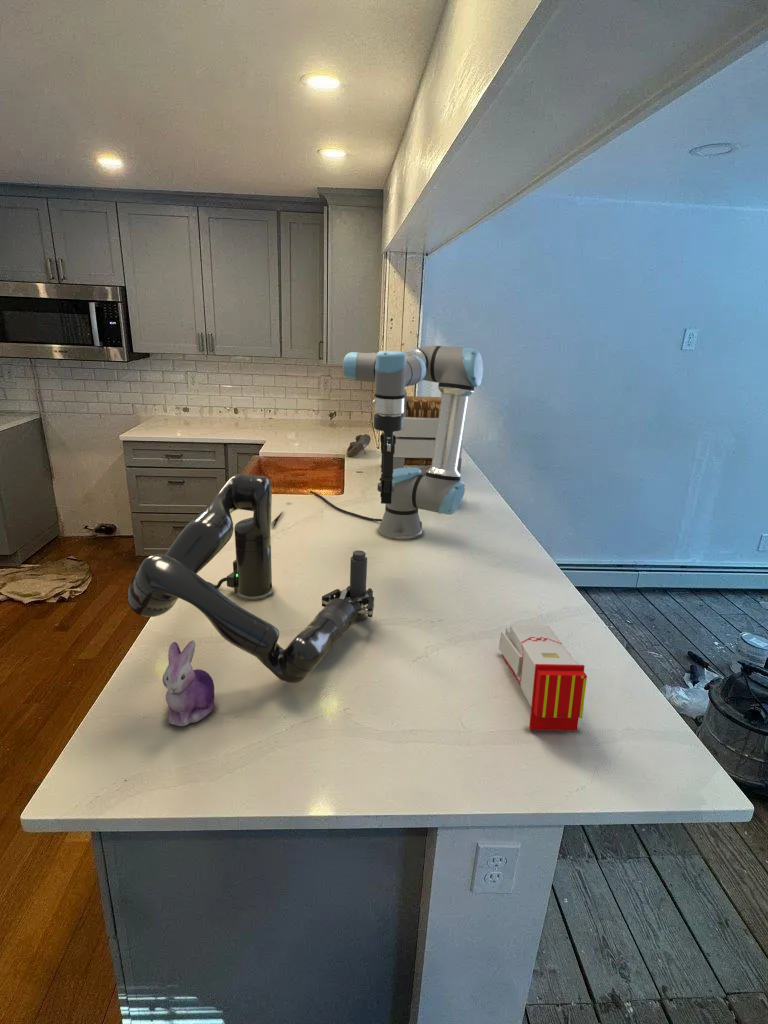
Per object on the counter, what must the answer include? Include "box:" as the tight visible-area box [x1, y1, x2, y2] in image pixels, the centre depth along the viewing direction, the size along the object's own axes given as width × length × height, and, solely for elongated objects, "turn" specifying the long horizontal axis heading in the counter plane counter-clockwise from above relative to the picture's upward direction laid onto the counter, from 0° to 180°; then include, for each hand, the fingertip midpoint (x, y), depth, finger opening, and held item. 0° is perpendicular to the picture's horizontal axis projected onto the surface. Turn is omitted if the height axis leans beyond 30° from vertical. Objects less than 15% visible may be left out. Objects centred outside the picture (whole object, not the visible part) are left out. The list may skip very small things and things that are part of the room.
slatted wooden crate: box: [393, 389, 465, 475], centre depth 268 cm, size 34×33×41 cm
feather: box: [271, 512, 283, 529], centre depth 212 cm, size 2×28×2 cm
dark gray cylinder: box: [349, 549, 368, 622], centre depth 142 cm, size 4×4×18 cm
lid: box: [377, 481, 395, 493], centre depth 152 cm, size 5×5×2 cm
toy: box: [498, 624, 588, 732], centre depth 119 cm, size 12×13×30 cm
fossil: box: [346, 433, 372, 458], centre depth 305 cm, size 22×10×15 cm
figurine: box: [161, 640, 215, 727], centre depth 107 cm, size 9×10×15 cm
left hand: (362, 589), depth 146 cm, fingers closed on dark gray cylinder, 4 cm apart
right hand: (385, 499), depth 153 cm, fingers closed on lid, 4 cm apart
